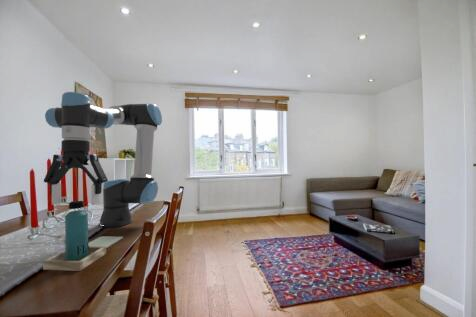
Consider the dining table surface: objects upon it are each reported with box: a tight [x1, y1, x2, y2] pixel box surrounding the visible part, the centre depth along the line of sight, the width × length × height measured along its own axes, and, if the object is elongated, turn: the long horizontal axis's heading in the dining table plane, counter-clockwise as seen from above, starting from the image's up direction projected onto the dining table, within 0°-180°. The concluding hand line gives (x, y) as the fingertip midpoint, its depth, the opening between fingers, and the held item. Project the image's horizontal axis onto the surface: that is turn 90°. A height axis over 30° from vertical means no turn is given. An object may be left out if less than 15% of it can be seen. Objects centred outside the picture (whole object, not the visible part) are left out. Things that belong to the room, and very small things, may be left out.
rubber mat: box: [88, 235, 124, 249], centre depth 89 cm, size 11×10×1 cm
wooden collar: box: [42, 246, 107, 272], centre depth 73 cm, size 12×12×2 cm
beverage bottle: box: [64, 200, 90, 261], centre depth 73 cm, size 6×7×20 cm
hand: (75, 204), depth 73 cm, fingers open, 13 cm apart
